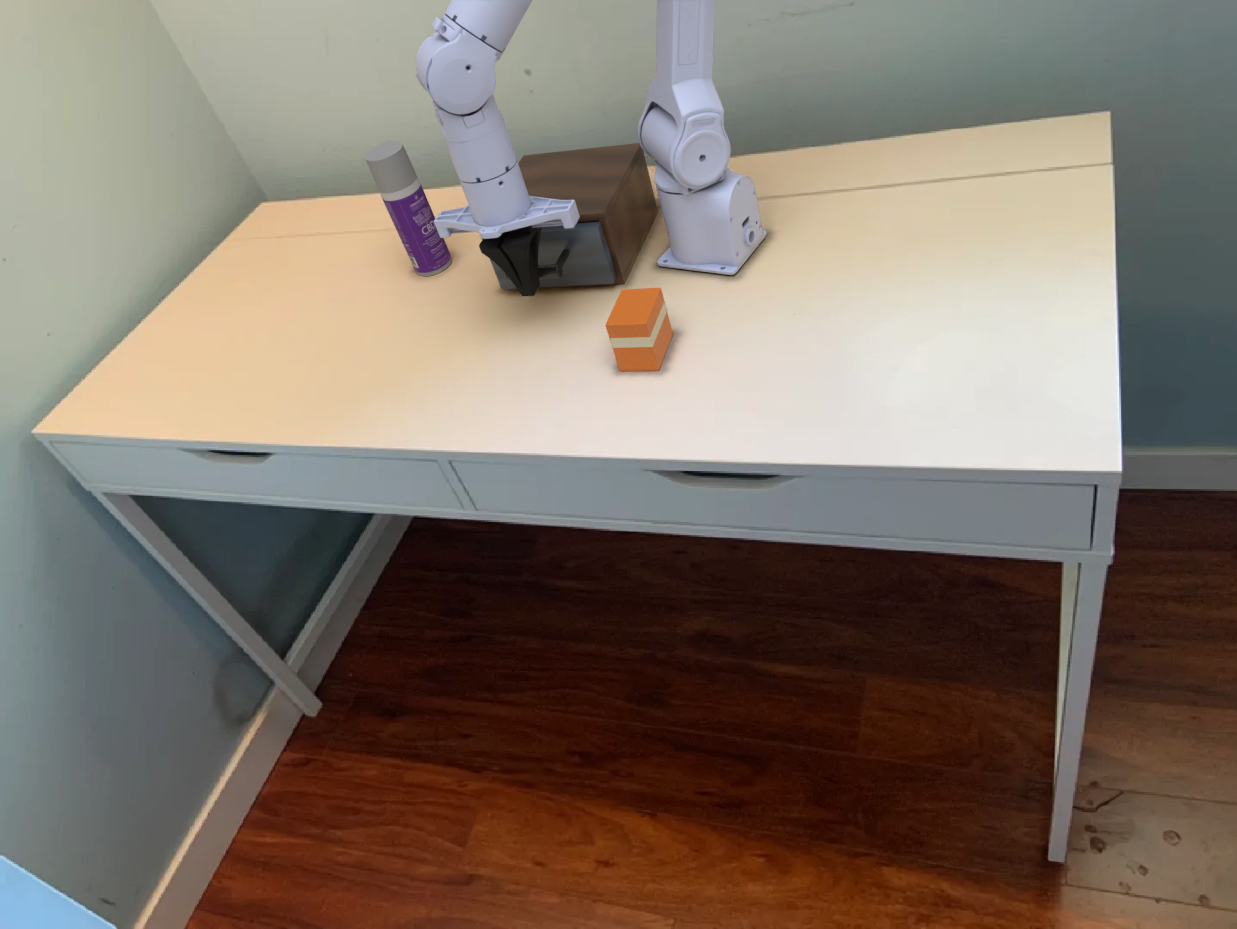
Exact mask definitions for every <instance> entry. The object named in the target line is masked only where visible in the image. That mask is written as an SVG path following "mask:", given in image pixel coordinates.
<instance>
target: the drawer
mask: <svg viewBox="0 0 1237 929" xmlns="http://www.w3.org/2000/svg"><path fill="white" fill-rule="evenodd" d="M489 261H490V263H491V266H492V269H493V271H494V274H495V276H496V279H497V282H498V283H499V286H500V289H501V290H503V289H512V290H517V288H516V287H515V285H514V284H513V282H512V281H511V280H510V279H509V277H508V276H507V275H506V274H505V272H504V271H503V270H502V269H501V268H500V267H499V266H498V265H497V264H496V263H495V262H493V261H492V260H491V259H490V258H489ZM538 277H539V281H540V287H552V288H558V287H557V286H571V287H578V286H577V285H591V286H597V285H596V284H611V285H615V284H614V282H615V280H616V278H617V276H616V273H615V269H614V266H613V262H612V259H611V256H610V252H609V249H608V245H607V242H606V239H605V235H604V232H603V228H602V225H601V222H599V220H596V221H583V222H577V223H576V225H575V226H574V228H568V229H565V228H564V227H563V225H561V226H548V227H542V229H541V234H540V240H539V249H538Z"/></svg>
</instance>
